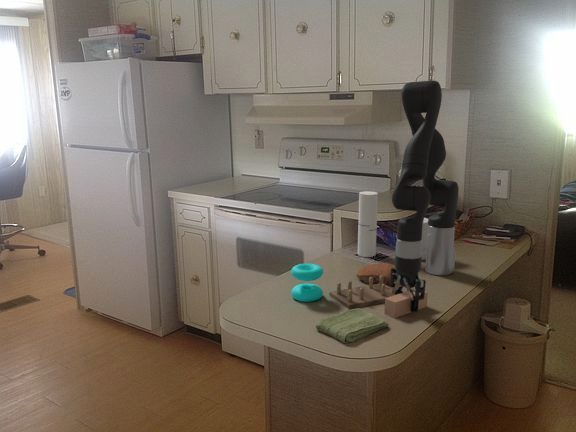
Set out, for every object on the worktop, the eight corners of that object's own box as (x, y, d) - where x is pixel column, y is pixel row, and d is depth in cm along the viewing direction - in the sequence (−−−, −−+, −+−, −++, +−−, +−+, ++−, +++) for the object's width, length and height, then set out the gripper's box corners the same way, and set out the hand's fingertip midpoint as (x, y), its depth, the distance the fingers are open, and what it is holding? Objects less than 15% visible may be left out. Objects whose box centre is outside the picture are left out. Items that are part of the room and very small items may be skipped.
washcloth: (391, 328, 150) (391, 317, 150) (346, 347, 139) (346, 335, 139) (356, 314, 160) (356, 303, 160) (312, 330, 149) (312, 319, 149)
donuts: (297, 261, 177) (326, 264, 173) (297, 289, 179) (326, 293, 175) (286, 270, 167) (317, 273, 164) (286, 300, 170) (317, 304, 166)
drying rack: (381, 286, 182) (382, 272, 181) (403, 298, 171) (404, 284, 170) (329, 295, 174) (329, 281, 172) (348, 308, 163) (349, 294, 162)
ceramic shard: (359, 256, 197) (400, 264, 195) (356, 273, 198) (397, 282, 196) (357, 263, 183) (401, 272, 181) (353, 282, 184) (397, 291, 181)
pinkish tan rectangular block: (416, 303, 167) (417, 288, 166) (426, 307, 164) (427, 291, 163) (384, 314, 159) (385, 298, 158) (394, 318, 156) (395, 302, 155)
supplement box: (418, 252, 220) (420, 216, 217) (435, 257, 213) (437, 220, 209) (401, 255, 215) (403, 218, 212) (418, 261, 208) (420, 223, 205)
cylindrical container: (357, 251, 221) (359, 191, 215) (375, 252, 220) (377, 191, 214) (357, 256, 214) (359, 194, 208) (375, 257, 213) (377, 194, 207)
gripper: (435, 258, 153) (431, 313, 157) (404, 246, 166) (402, 297, 170) (413, 262, 150) (410, 318, 154) (383, 249, 163) (381, 300, 166)
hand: (406, 307), depth 162 cm, fingers open, 7 cm apart
